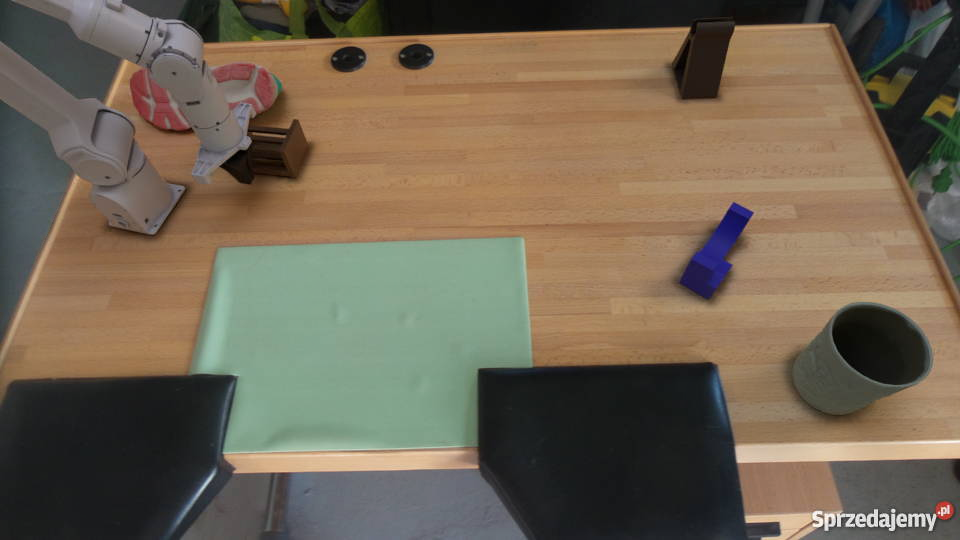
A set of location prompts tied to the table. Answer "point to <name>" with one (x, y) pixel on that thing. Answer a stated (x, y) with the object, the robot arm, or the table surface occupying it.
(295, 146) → the shoe rack
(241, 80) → the athletic shoe
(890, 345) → the grey plant pot
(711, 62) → the phone stand
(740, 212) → the blue angled block
